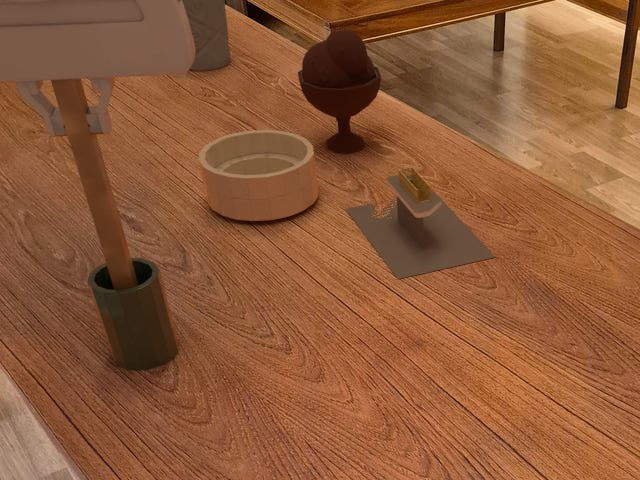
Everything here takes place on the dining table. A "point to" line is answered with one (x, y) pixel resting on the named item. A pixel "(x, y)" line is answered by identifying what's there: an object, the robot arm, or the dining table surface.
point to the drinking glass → (208, 33)
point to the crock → (135, 317)
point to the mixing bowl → (259, 175)
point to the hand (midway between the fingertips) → (81, 133)
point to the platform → (418, 230)
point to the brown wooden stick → (95, 182)
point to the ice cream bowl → (340, 84)
